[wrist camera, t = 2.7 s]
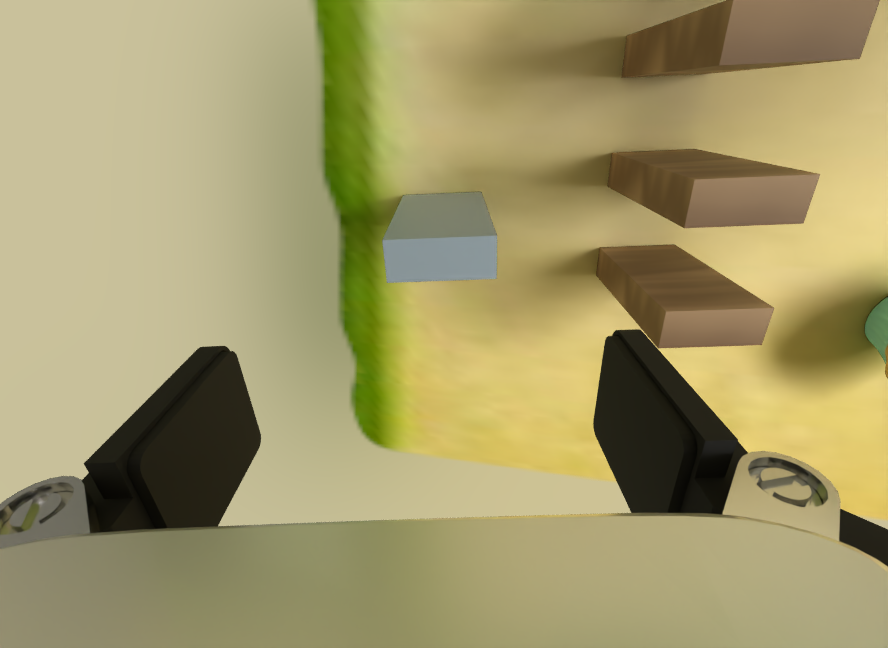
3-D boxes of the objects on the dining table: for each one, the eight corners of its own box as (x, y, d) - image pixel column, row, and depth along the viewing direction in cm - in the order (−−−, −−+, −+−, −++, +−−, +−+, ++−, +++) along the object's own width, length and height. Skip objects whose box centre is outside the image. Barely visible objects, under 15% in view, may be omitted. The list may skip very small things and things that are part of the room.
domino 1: (403, 194, 28) (382, 240, 19) (481, 191, 28) (497, 235, 19) (406, 225, 29) (387, 282, 20) (481, 222, 28) (496, 278, 20)
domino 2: (626, 35, 24) (734, -3, 15) (719, 31, 24) (883, -11, 15) (621, 77, 25) (719, 65, 16) (710, 73, 24) (859, 58, 16)
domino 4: (599, 247, 29) (666, 311, 20) (674, 244, 29) (774, 307, 20) (596, 275, 30) (658, 348, 21) (668, 272, 30) (761, 344, 21)
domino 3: (611, 152, 26) (694, 179, 18) (694, 149, 26) (820, 174, 17) (607, 186, 27) (684, 228, 18) (687, 183, 27) (803, 223, 18)
